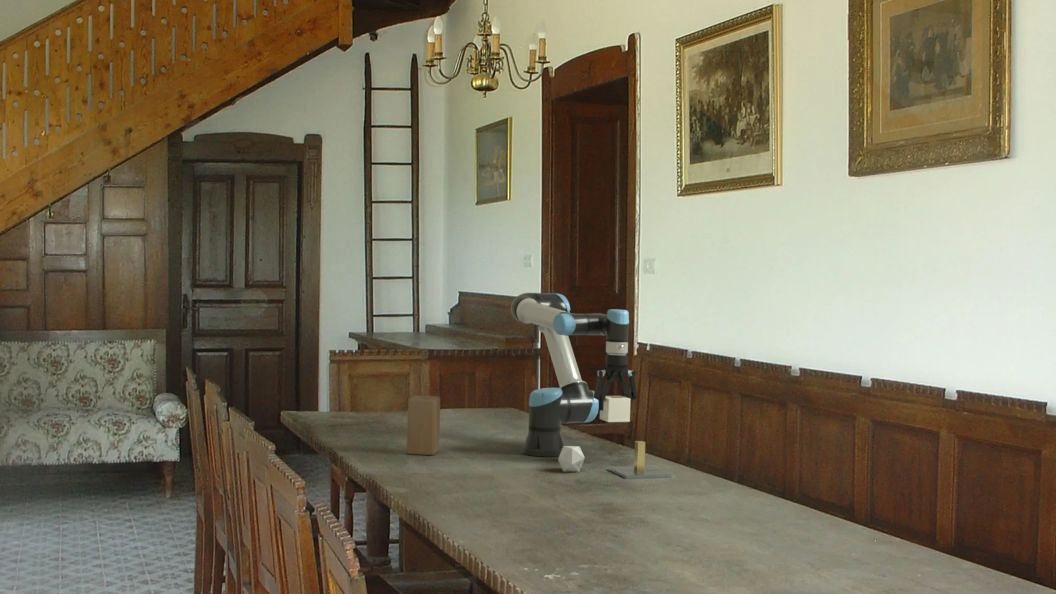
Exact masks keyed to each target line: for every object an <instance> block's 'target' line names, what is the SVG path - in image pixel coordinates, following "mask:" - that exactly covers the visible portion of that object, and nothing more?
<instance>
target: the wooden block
mask: <svg viewBox="0 0 1056 594" xmlns="http://www.w3.org/2000/svg"><path fill="white" fill-rule="evenodd" d="M440 421H441V397H440V396H438V395H419V394H418V395H417V394H416V395H415V394H414V395H413V396H411V397H409V398H408V401H407V432H406V433H407V434H406V437H407V438H406V441H407V442H406V453H407V455H411V456H412V455H415V456H419V455H420V456H434V455H436V454H437V453H438V452H439V450H440V428H441V427H440V425H441V423H440Z"/></svg>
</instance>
